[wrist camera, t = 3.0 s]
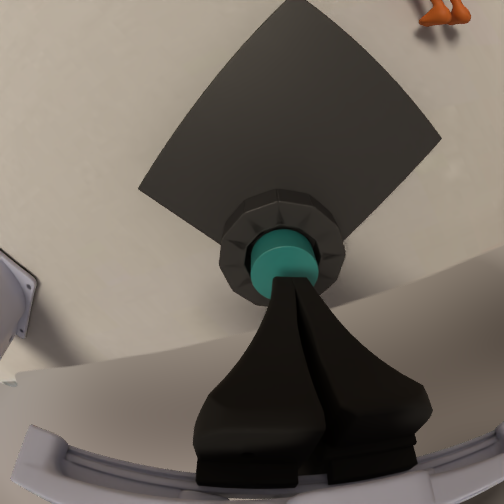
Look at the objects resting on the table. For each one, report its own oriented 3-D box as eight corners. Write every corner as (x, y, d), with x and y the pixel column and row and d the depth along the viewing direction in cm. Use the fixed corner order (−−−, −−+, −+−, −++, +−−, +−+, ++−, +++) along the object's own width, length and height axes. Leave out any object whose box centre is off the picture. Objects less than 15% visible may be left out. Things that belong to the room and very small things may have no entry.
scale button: (284, 291, 16) (287, 311, 14) (238, 260, 15) (236, 279, 14) (325, 252, 15) (332, 270, 13) (279, 216, 14) (282, 232, 12)
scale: (283, 290, 19) (286, 323, 17) (138, 193, 16) (117, 216, 13) (433, 138, 14) (464, 153, 11) (291, -1, 10) (299, -19, 8)
